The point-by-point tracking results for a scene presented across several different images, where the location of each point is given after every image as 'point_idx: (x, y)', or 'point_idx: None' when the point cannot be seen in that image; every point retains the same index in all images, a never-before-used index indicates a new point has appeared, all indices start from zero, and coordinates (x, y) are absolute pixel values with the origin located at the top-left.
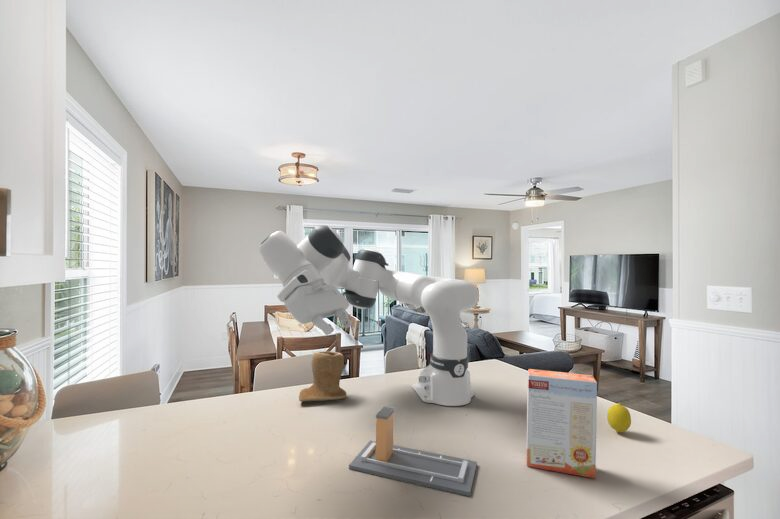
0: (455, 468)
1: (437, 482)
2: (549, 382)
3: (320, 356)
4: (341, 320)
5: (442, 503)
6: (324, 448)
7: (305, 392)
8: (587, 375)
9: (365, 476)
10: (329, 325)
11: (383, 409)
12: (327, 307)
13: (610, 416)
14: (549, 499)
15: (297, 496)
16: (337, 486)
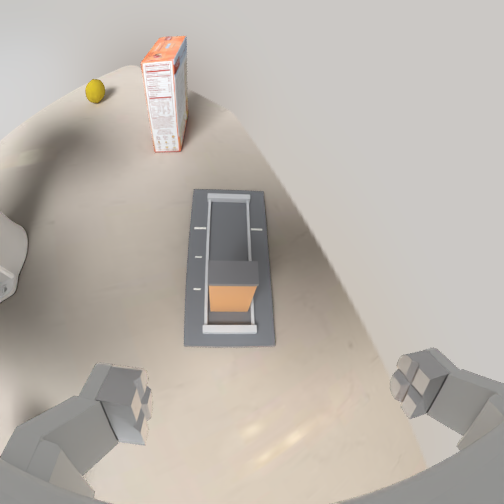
0: (220, 208)
1: (260, 222)
2: (179, 56)
3: None
4: (100, 457)
5: (287, 216)
6: (233, 414)
7: None
8: (163, 38)
9: (280, 315)
10: (439, 368)
11: (224, 279)
12: (464, 483)
13: (96, 92)
14: (234, 140)
15: (358, 372)
16: (318, 339)
